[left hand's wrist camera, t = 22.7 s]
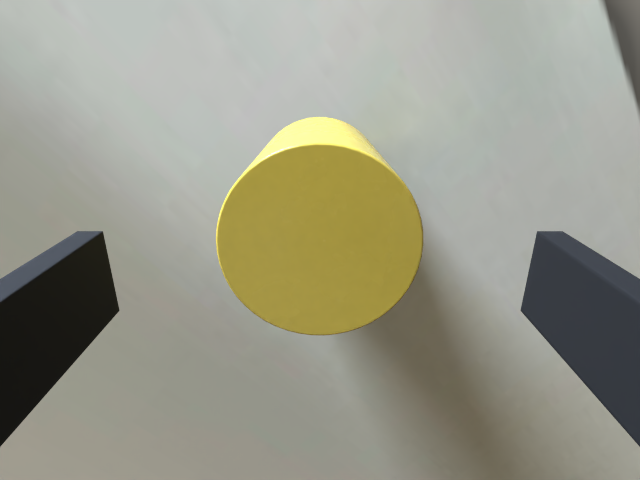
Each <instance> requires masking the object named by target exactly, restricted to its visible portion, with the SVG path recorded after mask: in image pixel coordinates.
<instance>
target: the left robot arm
mask: <svg viewBox="0 0 640 480" xmlns="http://www.w3.org/2000/svg"><path fill="white" fill-rule="evenodd" d="M118 312H119V306H118V302H117V297H116V292H115V287H114V283H113V278H112V273H111V268H110V264H109V259H108V254H107V249H106V244H105V240H104V235H103V231H77V232H76V233H74V234H72V235H71V236H69V237H68V238H66V239H64V240H63V241H61V242H60V243H58V244H56V245H55V246H53V247H51V248H50V249H48V250H47V251H45V252H43V253H42V254H40V255H38V256H37V257H35V258H34V259H32V260H30V261H29V262H27V263H26V264H24V265H22V266H21V267H19V268H17V269H16V270H14V271H13V272H11V273H9V274H8V275H6V276H5V277H3V278H1V279H0V446H1V445H2V444H3V443H4V442H5V441H6V439H7V438H8V437H9V436H10V435H11V434H12V433H13V431H14V430H15V429H16V428H17V427H18V426H19V425H20V423H21V422H22V421H23V420H24V419H25V418H26V417H27V415H28V414H29V413H30V412H31V411H32V410H33V409H34V407H35V406H36V405H37V404H38V403H39V402H40V401H41V399H42V398H43V397H44V396H45V395H46V394H47V393H48V391H49V390H50V389H51V388H52V387H53V386H54V385H55V383H56V382H57V381H58V380H59V379H60V378H61V377H62V375H63V374H64V373H65V372H66V371H67V370H68V369H69V367H70V366H71V365H72V364H73V363H74V362H75V361H76V359H77V358H78V357H79V356H80V355H81V354H82V353H83V351H84V350H85V349H86V348H87V347H88V346H89V345H90V343H91V342H92V341H93V340H94V339H95V338H96V337H97V336H98V334H99V333H100V332H101V331H102V330H103V329H104V328H105V326H106V325H107V324H108V323H109V322H110V321H111V320H112V318H113V317H114V316H115V315H116V314H117V313H118ZM521 312H522V313H523V314H524V315H525V316H526V317H527V318H528V320H529V321H530V322H531V323H532V324H533V325H534V326H535V328H536V329H537V330H538V331H539V332H540V333H541V334H542V336H543V337H544V338H545V339H546V340H547V341H548V342H549V343H550V345H551V346H552V347H553V348H554V349H555V350H556V351H557V353H558V354H559V355H560V356H561V357H562V358H563V359H564V361H565V362H566V363H567V364H568V365H569V366H570V367H571V369H572V370H573V371H574V372H575V373H576V374H577V375H578V377H579V378H580V379H581V380H582V381H583V382H584V383H585V385H586V386H587V387H588V388H589V389H590V390H591V391H592V393H593V394H594V395H595V396H596V397H597V398H598V399H599V401H600V402H601V403H602V404H603V405H604V406H605V407H606V409H607V410H608V411H609V412H610V413H611V414H612V415H613V417H614V418H615V419H616V420H617V421H618V422H619V423H620V425H621V426H622V427H623V428H624V429H625V430H626V431H627V433H628V434H629V435H630V436H631V437H632V438H633V439H634V441H635V442H636V443H637V444H638V445H639V446H640V279H639V278H637V277H635V276H634V275H632V274H631V273H629V272H627V271H626V270H624V269H623V268H621V267H619V266H618V265H616V264H614V263H613V262H611V261H610V260H608V259H606V258H605V257H603V256H602V255H600V254H598V253H597V252H595V251H593V250H592V249H590V248H589V247H587V246H585V245H584V244H582V243H580V242H579V241H577V240H576V239H574V238H572V237H571V236H569V235H568V234H566V233H564V232H563V231H537V235H536V240H535V244H534V249H533V254H532V259H531V264H530V268H529V273H528V278H527V283H526V287H525V292H524V297H523V302H522V306H521Z"/></svg>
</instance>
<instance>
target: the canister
mask: <svg viewBox="0 0 640 480" xmlns="http://www.w3.org/2000/svg"><path fill="white" fill-rule="evenodd" d="M216 245H217V254H218V259H219V263H220V266H221V269H222V272H223V274H224V277H225V279H226V280H227V282H228V284H229V286H230V288H231V289H232V291H233V292H234V293H235V295H236V296H237V297H238V299H239V300H240V301H241V302H242V303H243V304H244V305H245V306H246V307H247V308H248V309H249V310H251V311H252V312H253V313H254V314H256V315H257V316H259V317H260V318H262V319H263V320H265V321H266V322H268V323H270V324H272V325H274V326H277V327H279V328H282V329H285V330H287V331H291V332H296V333H300V334H308V335H332V334H339V333H344V332H348V331H351V330H355V329H358V328H360V327H363V326H365V325H367V324H369V323H371V322H373V321H375V320H376V319H378V318H379V317H381V316H382V315H384V314H385V313H386V312H388V311H389V310H390V309H391V308H392V307H393V306H394V305H395V304H396V303H397V302H398V301H399V300H400V299H401V298H402V296H403V295H404V294H405V293H406V291H407V290H408V288H409V286H410V285H411V283H412V281H413V280H414V277H415V275H416V273H417V270H418V268H419V264H420V260H421V257H422V249H423V227H422V221H421V217H420V213H419V210H418V207H417V204H416V202H415V200H414V198H413V196H412V194H411V192H410V191H409V189H408V188H407V186H406V185H405V183H404V182H403V181H402V180H401V178H400V177H399V176H398V175H397V174H396V173H395V171H394V170H393V169H392V168H391V167H390V165H389V164H388V163H387V162H386V161H385V160H384V158H383V157H382V156H381V155H380V154H379V153H378V151H377V150H376V149H375V148H374V147H373V146H372V144H371V143H370V142H369V141H368V140H367V139H366V137H365V136H364V135H363V134H362V133H360V132H359V131H358V130H357V129H355V128H354V127H352V126H351V125H349V124H347V123H345V122H343V121H340V120H336V119H332V118H326V117H314V118H307V119H303V120H299V121H297V122H294V123H292V124H290V125H289V126H287V127H285V128H284V129H283V130H281V131H280V132H279V133H278V134H277V135H276V136H275V137H274V138H273V139H272V140H271V141H270V142H269V143H268V145H267V146H266V147H265V148H264V149H263V150H262V152H261V153H260V154H259V155H258V156H257V158H256V159H255V160H254V161H253V162H252V163H251V165H250V166H249V167H248V168H247V169H246V170H245V172H244V173H243V174H242V175H241V176H240V177H239V179H238V180H237V181H236V183H235V184H234V185H233V187H232V188H231V189H230V191H229V193H228V195H227V197H226V199H225V201H224V203H223V206H222V208H221V211H220V214H219V219H218V223H217V232H216Z"/></svg>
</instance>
